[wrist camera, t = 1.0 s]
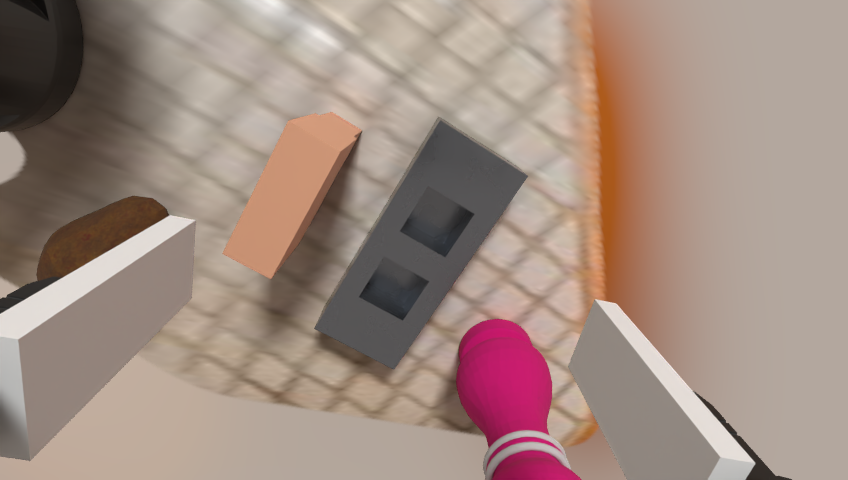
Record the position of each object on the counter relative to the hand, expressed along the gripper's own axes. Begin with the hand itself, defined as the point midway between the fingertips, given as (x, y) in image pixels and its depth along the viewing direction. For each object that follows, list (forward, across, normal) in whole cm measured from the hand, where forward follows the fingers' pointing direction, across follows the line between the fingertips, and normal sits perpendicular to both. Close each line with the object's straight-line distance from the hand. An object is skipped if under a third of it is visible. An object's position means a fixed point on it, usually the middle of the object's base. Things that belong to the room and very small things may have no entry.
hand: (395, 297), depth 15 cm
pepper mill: (+20, +11, -14) cm, 26 cm away
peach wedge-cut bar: (+20, -6, -1) cm, 21 cm away
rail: (+20, +2, -5) cm, 21 cm away
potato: (+21, -20, -10) cm, 31 cm away
